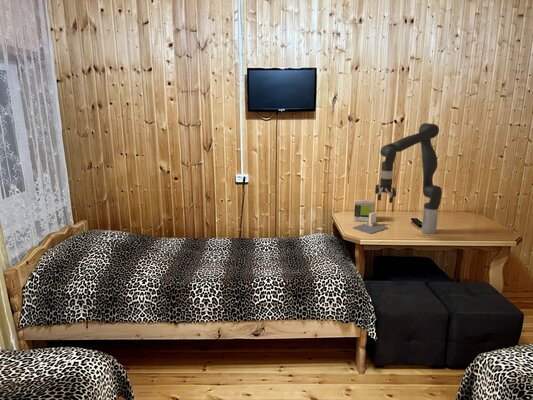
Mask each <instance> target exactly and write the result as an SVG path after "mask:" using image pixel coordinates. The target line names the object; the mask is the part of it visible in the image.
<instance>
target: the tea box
mask: <svg viewBox="0 0 533 400" xmlns="http://www.w3.org/2000/svg"><path fill="white" fill-rule="evenodd" d="M353 211H354V215H353V217H354V219H353V221H354V222H368V220H369V213H372V212H375V211H376V202H375V200H368V199H366V200H365V199H354V210H353Z"/></svg>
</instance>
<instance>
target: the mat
mask: <svg viewBox="0 0 533 400" xmlns="http://www.w3.org/2000/svg"><path fill="white" fill-rule="evenodd" d="M352 229H354V230H357V231H360V232H363V233H366V234H369V235H372V234H375V233H378V232H382V231H384V230H388V229H389V227H387V226H384V225H380V224H378V225H376V226H372V227H371V226H369V225H366V223H363V224H360V225H356V226H353V227H352Z"/></svg>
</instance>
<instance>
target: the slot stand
mask: <svg viewBox="0 0 533 400" xmlns="http://www.w3.org/2000/svg"><path fill="white" fill-rule="evenodd" d="M365 224H366V225H368V221H365ZM376 225H379V222H377V221H376V223H372V224H370V226H371V227H372V226H376Z"/></svg>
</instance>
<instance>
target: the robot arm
mask: <svg viewBox="0 0 533 400" xmlns="http://www.w3.org/2000/svg"><path fill="white" fill-rule="evenodd" d="M439 133H440V129H439V126H438V125H437V124H434V123H427V122H425V123H422V124H420V126H419V128H418V133H415V134H412V135H408V136H404V137H403V138H400V139H399V140H396V141H394V142H392V143H388V144H386V145H384V146H382V147H381V148H380V150H379V151H380V152H379V153H380V155H381V156H382V157H385V159H384V161H382V162H381V170H380V176H379V177H380V180H379V183H378V184H376V185H375V191H374V193H375V194H376V195H377V201H378V202H379V201H382V194H383V193H385V194H387V195H388V196H389V204H392V203H393V201H394V198H396V197H397V187H393V176H394V164H395V160H396V157H397V153H400V152H403V151H405V150H407V149H409V148H410V147H413V146H414V145H418V144H419V143H420V147H421V149H420V150H421V162H422V163H421V164H422V194H423V196H424V197H426V198H428V199H429V202H425V203H424V204H423V213H422V221H421V222H422V223H421V232H422V233H424V234H429V235H432V234H433V235H434V234H436V233H437V227H438V217H439V216H438V215H439V209H440V208H439V207H440V205H441V200H442V194H443V191H442V188H441V187H440V186H438V185H436V184H435V185H434V183H433V177H434V174H436V173H435V172H436V171H437V168H438V157H437V156H438V155H437V153H436V151H435V149H434V147H433V145H432V141H431V140H432V139H433V138H436V137H437V136H438V135H439Z"/></svg>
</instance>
